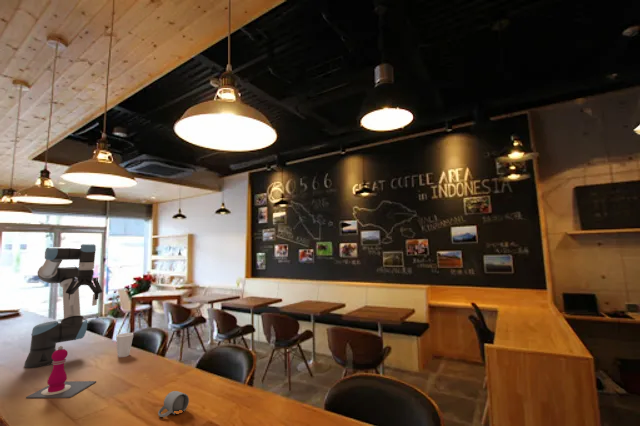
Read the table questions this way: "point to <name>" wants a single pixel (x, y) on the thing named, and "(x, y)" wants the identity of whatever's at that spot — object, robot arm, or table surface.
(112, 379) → the table surface
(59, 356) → the pepper mill
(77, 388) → the mat
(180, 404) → the ceramic mug
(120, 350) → the foam cup
